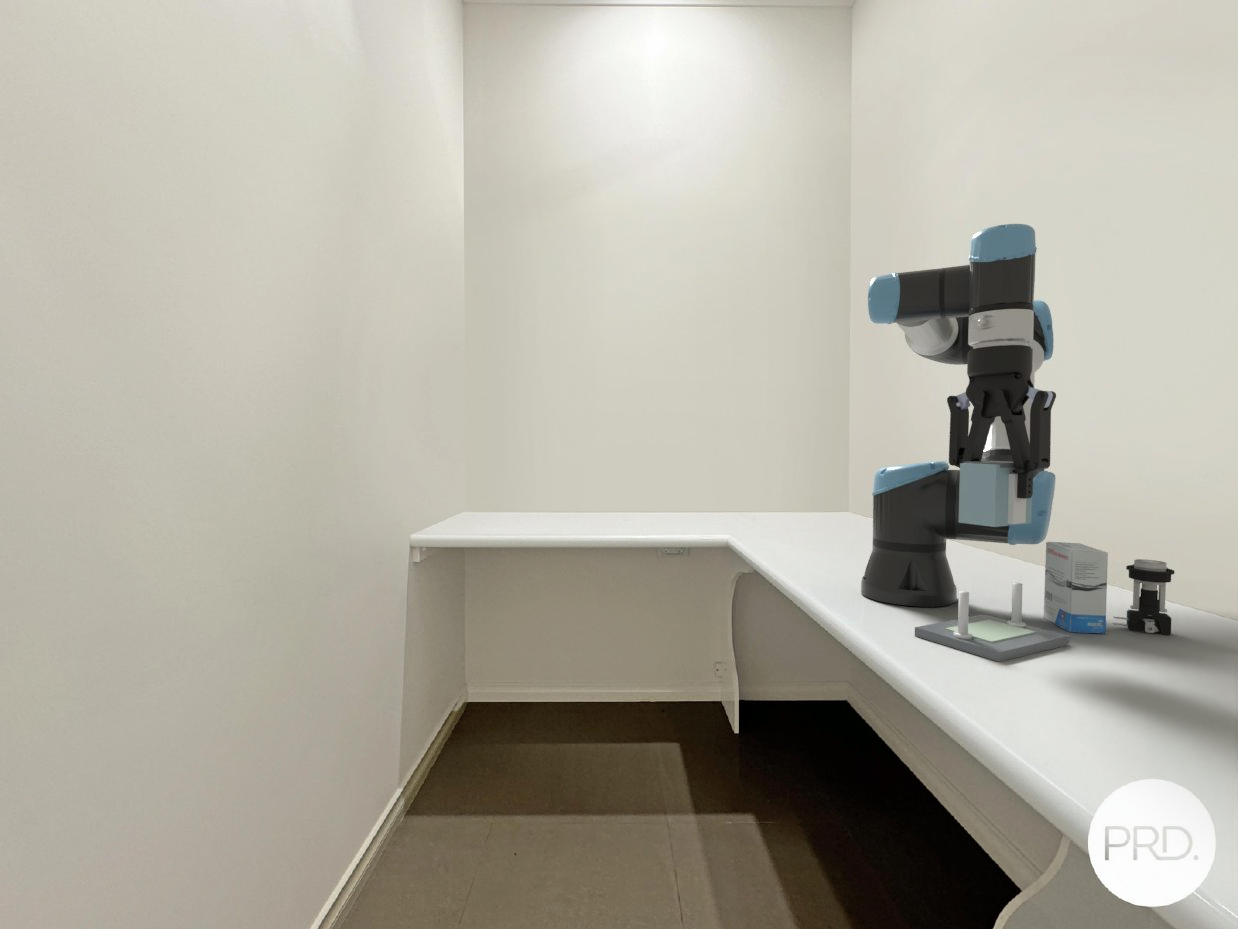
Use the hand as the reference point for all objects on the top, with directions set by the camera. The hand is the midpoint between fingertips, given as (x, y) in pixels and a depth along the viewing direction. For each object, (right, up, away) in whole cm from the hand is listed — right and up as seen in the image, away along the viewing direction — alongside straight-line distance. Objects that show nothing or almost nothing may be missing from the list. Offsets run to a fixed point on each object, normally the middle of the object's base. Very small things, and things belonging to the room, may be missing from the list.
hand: (995, 520), depth 89 cm
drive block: (0, 0, 0) cm, 0 cm away
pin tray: (0, -16, +1) cm, 16 cm away
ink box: (+16, -16, +8) cm, 24 cm away
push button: (+24, -16, +6) cm, 30 cm away
